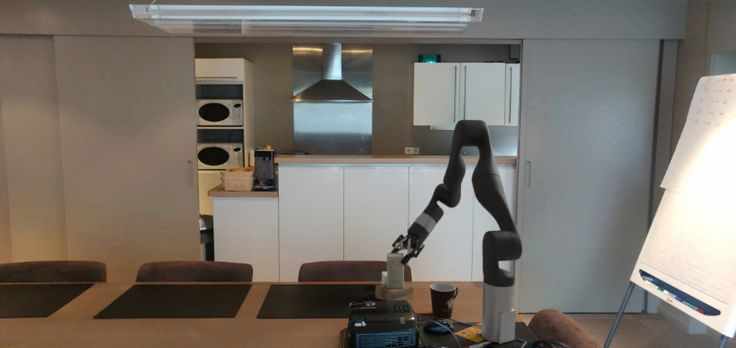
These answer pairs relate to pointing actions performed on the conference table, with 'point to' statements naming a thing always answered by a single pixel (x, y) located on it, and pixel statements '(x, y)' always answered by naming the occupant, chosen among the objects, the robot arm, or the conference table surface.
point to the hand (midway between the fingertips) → (396, 261)
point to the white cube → (384, 277)
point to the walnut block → (393, 292)
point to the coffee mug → (442, 299)
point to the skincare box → (395, 270)
